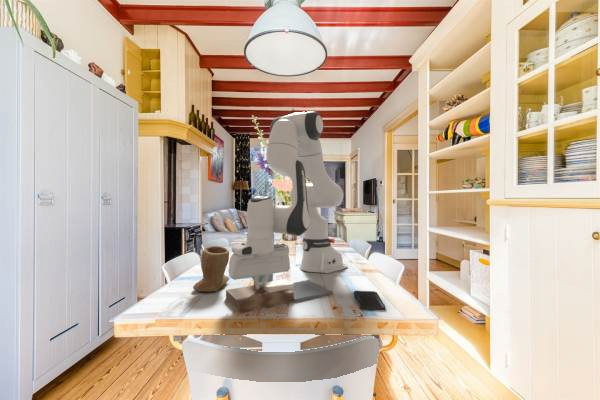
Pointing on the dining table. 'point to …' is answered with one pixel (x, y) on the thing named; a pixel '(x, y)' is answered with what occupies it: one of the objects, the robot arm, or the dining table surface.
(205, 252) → the stone cup
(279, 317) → the dining table surface
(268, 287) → the tile
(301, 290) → the mat
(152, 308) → the dining table surface
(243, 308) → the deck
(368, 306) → the phone
